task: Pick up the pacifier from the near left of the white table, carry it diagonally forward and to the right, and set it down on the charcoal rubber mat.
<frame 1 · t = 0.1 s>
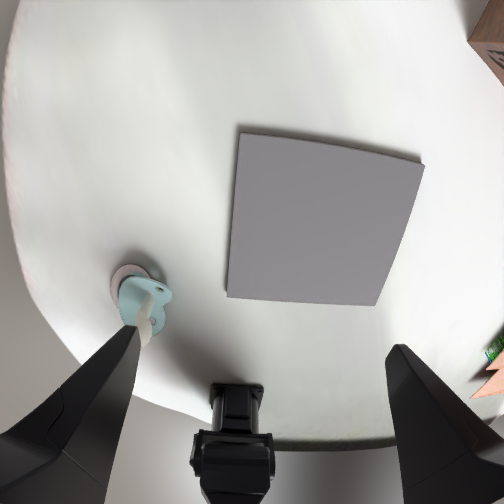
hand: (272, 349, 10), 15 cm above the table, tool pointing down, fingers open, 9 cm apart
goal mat: (321, 231, 24), on the table
pacifier: (142, 289, 28), on the table
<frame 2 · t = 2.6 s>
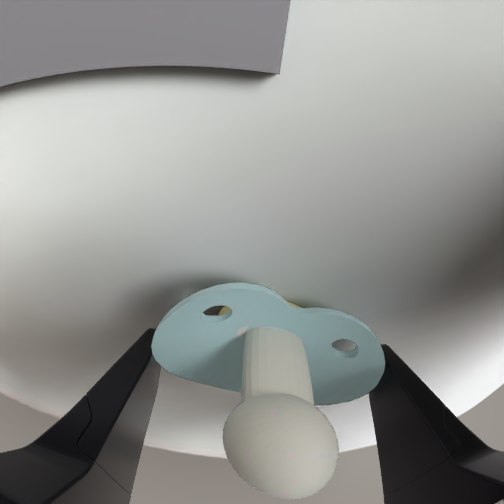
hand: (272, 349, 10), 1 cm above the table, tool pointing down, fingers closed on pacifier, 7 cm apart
pacifier: (261, 332, 11), on the table, touching gripper
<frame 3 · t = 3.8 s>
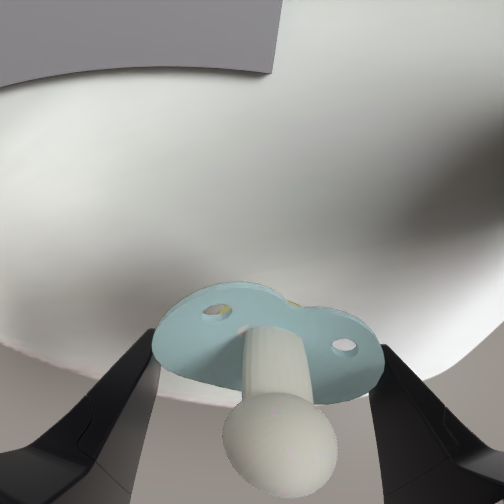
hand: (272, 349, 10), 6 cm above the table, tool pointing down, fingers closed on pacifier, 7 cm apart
pacifier: (261, 331, 11), point 4 cm above the table, touching gripper
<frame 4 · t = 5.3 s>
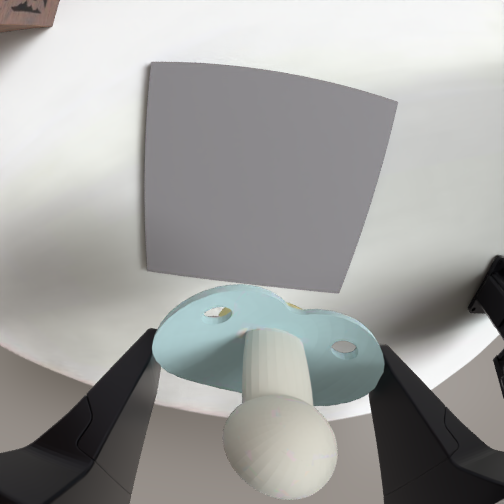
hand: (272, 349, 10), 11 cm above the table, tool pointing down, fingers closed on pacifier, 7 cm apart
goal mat: (259, 186, 19), on the table
pacifier: (261, 333, 11), point 10 cm above the table, touching gripper
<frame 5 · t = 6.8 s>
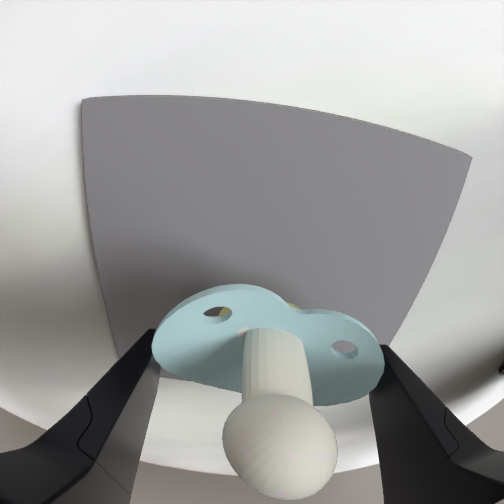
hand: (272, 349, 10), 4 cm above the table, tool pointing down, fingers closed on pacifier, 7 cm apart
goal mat: (264, 282, 13), on the table
pacifier: (261, 332, 11), point 2 cm above the table, touching gripper
when the fingers open (3 cm above the table, at t = 7.9 s): pacifier drops 1 cm, resting on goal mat.
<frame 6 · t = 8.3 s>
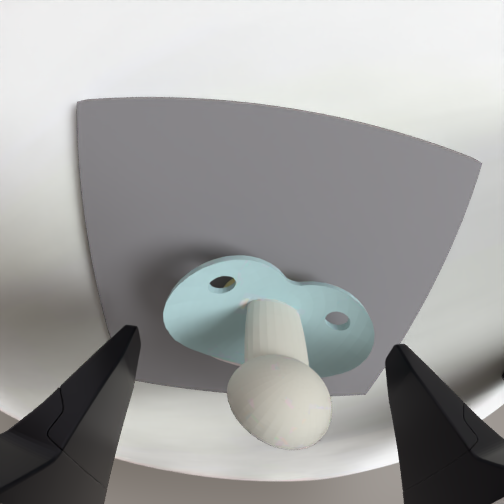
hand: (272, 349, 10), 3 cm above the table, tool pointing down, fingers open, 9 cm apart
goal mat: (267, 291, 12), on the table
pacifier: (261, 308, 12), resting on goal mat
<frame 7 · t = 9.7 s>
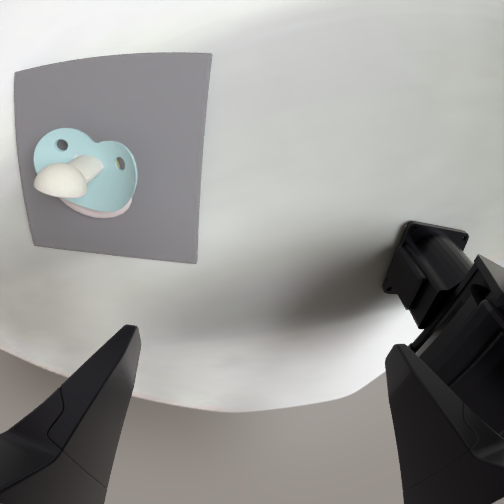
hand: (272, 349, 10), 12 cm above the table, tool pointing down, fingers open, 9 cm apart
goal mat: (99, 160, 18), on the table
pacifier: (95, 171, 18), resting on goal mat
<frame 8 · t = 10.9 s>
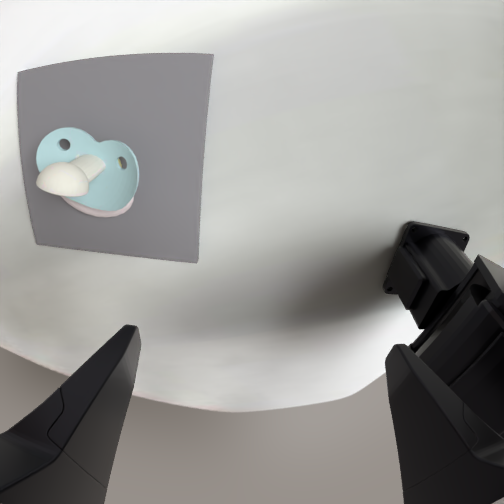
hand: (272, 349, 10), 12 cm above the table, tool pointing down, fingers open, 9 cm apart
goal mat: (101, 160, 18), on the table
pacifier: (97, 170, 18), resting on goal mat
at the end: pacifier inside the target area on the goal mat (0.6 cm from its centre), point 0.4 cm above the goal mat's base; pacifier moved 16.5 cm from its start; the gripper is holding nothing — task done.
